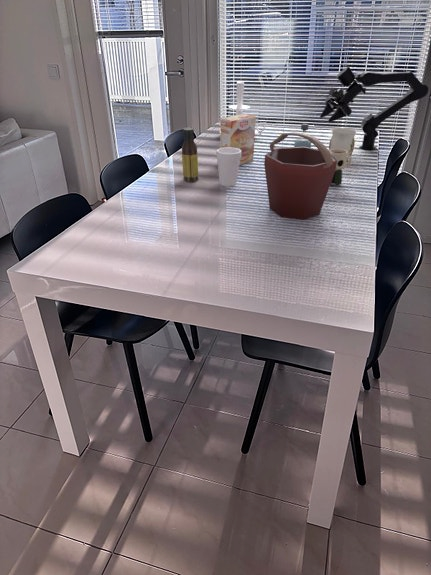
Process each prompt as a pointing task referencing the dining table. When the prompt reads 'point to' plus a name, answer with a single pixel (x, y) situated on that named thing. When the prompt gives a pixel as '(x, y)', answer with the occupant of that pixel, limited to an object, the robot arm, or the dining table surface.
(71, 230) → the dining table surface
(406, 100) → the robot arm
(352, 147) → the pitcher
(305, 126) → the knob
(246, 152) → the coffeecake box
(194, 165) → the sauce bottle
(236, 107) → the candlestick
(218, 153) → the foam cup
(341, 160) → the character mug
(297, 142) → the tiered round stand
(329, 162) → the bucket
